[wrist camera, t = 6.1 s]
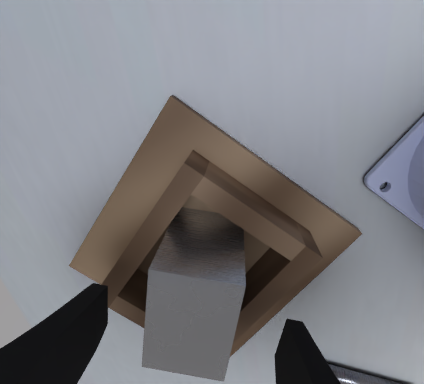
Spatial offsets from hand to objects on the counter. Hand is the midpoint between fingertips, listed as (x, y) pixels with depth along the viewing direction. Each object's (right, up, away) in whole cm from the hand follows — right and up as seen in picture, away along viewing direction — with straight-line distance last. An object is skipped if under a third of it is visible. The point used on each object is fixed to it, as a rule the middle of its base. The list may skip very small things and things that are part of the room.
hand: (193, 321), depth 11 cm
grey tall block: (0, +2, +5) cm, 5 cm away
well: (0, +2, +5) cm, 6 cm away
